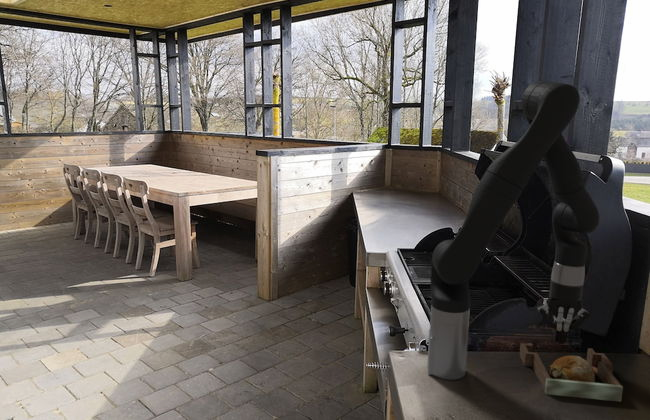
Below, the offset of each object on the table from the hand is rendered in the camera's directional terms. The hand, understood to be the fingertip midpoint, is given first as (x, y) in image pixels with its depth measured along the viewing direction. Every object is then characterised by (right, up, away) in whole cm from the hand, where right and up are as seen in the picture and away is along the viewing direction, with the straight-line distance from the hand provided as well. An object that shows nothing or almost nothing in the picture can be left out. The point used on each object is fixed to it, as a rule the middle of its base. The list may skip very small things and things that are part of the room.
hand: (559, 342), depth 128 cm
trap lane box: (-1, -6, -8) cm, 10 cm away
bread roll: (-2, -7, -9) cm, 12 cm away
